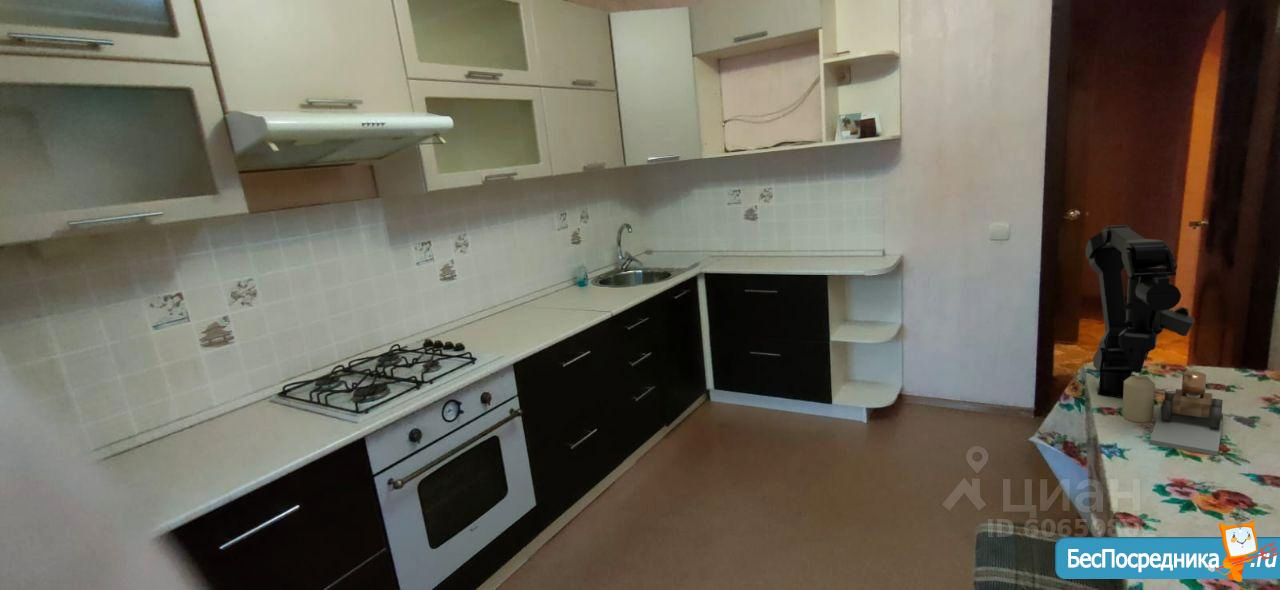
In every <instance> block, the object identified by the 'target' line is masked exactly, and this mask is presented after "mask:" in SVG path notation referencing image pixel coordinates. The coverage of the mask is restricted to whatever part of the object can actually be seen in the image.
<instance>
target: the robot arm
mask: <svg viewBox="0 0 1280 590" xmlns="http://www.w3.org/2000/svg"><path fill="white" fill-rule="evenodd" d="M1131 227H1132V226H1130V225H1126V224H1123V225H1122V224H1119V225H1107V226H1105V227H1103V228H1102V230H1101V232H1099V233H1097V234H1095V235H1094V236H1092V237H1090V238H1089V240H1088V242H1087V244H1086V247H1085V256H1086V259H1087V260H1088V262H1089V263H1088V264H1089V267H1090V268H1091V270H1092V271H1094V272H1095V274H1096V275H1098V281H1099V289H1100V297H1101V304H1102V306H1101V307H1102V313H1103V314H1102V315H1103V323H1104V331H1105V333H1104V334H1103V336H1102V337H1101V339H1100V340H1099V342H1098V348H1097V350H1096V351H1095V353H1094V356H1092V362H1093V367H1094V368H1095V369H1096V370H1097V371H1098V373H1099V381H1098V382H1099V387H1098V391H1097V395H1101V396H1108V397H1116V398H1122V399H1123V391H1124V380H1126V379H1127V378H1129V377H1130V376H1136V375H1135V374H1136V373H1137V374H1141V373H1142V370H1143V367H1144V363H1145V361H1146V360H1147V359H1148V356H1149V353H1150V352H1151V351H1154V350H1155V349H1156V347H1157V344H1158V335H1159V334H1161V333H1162V332H1163V330H1164V329H1165V330H1167V331H1170V332H1173V333H1176V334H1177V335H1179V336H1183V337H1186V336H1188V335H1189V334H1188V333H1189V332H1190V330H1191V329H1192V327H1193V326H1194V323H1195V321H1196V319H1195V318H1194V316H1193V315H1190V309H1189V308H1187V307H1184V306H1178V307H1177V308H1176V309H1174V310H1173V308H1175V307H1176V306H1177V305H1178V304H1179V303H1180V301H1181V298H1182V293H1181V291H1180V289H1179V288H1178V287H1177V286H1176V285H1174V284H1172V283H1170V279H1171V278H1170V277H1171V276H1176V275H1177V273H1176V270H1177V269H1178V266H1177V262H1176V261H1175V260H1176V259H1175V256H1174V254H1173V251H1172V250H1171V247H1170V246H1169V245H1167V243H1166V242H1165V241H1164V240H1162V239H1161V240H1160V239H1150V238H1144V237H1143V236H1141V235H1140V234H1139V233H1137V232H1135V231H1134V230H1133V229H1132V228H1131ZM1124 269H1125V272H1126V274H1127V294H1126V295H1127V298H1126V297H1125V291H1124V284H1123V275H1122V272H1123V270H1124ZM1125 298H1126V300H1125ZM1134 373H1135V374H1134Z"/></svg>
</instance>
